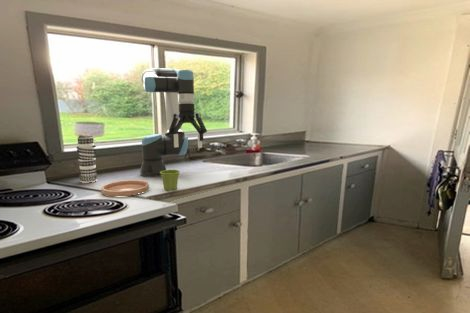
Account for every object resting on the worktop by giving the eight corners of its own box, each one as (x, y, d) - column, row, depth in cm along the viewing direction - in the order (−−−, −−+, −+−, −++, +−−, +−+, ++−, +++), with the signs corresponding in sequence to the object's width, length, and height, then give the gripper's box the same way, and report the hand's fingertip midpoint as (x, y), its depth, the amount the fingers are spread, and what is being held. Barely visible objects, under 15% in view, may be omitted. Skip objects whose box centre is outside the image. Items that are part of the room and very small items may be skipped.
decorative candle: (90, 178, 168) (87, 133, 164) (102, 180, 164) (98, 134, 160) (75, 182, 160) (71, 135, 156) (87, 184, 156) (83, 135, 152)
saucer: (94, 190, 144) (94, 185, 144) (136, 183, 158) (136, 178, 158) (112, 200, 129) (112, 194, 129) (156, 190, 144) (156, 185, 143)
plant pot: (162, 192, 141) (161, 174, 139) (159, 187, 149) (158, 170, 148) (182, 190, 145) (181, 172, 143) (177, 185, 153) (177, 168, 152)
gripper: (160, 104, 146) (162, 147, 149) (205, 101, 136) (206, 148, 139) (169, 104, 153) (171, 146, 155) (213, 102, 143) (214, 147, 145)
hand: (188, 147), depth 147 cm, fingers open, 13 cm apart
